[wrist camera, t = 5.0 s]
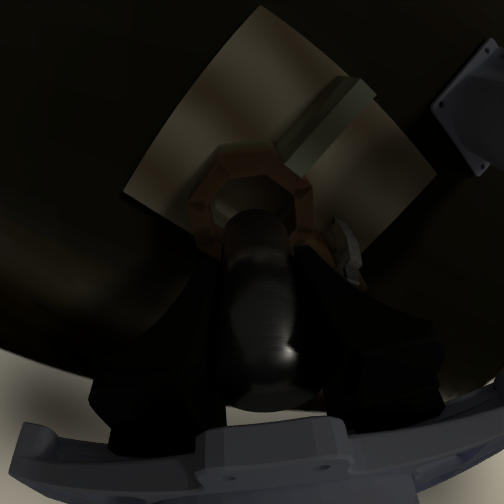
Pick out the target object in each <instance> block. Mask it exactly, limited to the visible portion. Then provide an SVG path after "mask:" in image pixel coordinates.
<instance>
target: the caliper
mask: <svg viewBox="0 0 504 504" xmlns="http://www.w3.org/2000/svg"><path fill="white" fill-rule="evenodd" d="M331 226H332V232H333V238H334V245H335V251H336V252H335V253H334V254H333V257H334V259H335V261H336V263H337V265H338V266H337V268H336V269H335V271H336V272H337V273H339V274H340V275H341V276H342V277H343V278H345V279H346V280H347V281H348V282H350V283H353V284H355V285H360V283H359V279H358V274H357V270H358V269H359V268H360V267H361V266H362V265H363V264H362V259H361V254H360V250H359V245H358V241H357V239H356V238H355V236H354V235H353V233H352V231H351V230H350V228H349V226H348V225H347V224H346V222H344V221H342V220H340V219H338V218H336V217H334V218H333V219H332V221H331Z"/></svg>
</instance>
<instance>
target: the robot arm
mask: <svg viewBox="0 0 504 504" xmlns="http://www.w3.org/2000/svg"><path fill="white" fill-rule="evenodd" d="M485 48H486V52H485ZM440 102H441V103H442V105H441V107H440V106H439V103H440ZM430 110H431V112H432V114H433V115H434V116H435V118H436V119H437V120H438V122H439V123H440V124H441V126H442V127H443V128H444V130H445V131H446V132H447V134H448V135H449V137H450V138H451V140H452V141H453V142H454V144H455V145H456V147H457V148H458V150H459V151H460V153H461V154H462V156H463V157H464V159H465V160H466V162H467V163H468V165H469V167H470V168H471V170H472V171H473V173H474V174H475V175H476V176H480V175H481V174H482V173H483V172H484V171H485V170H486V168H487V167H488V166H489V165H490V164H492V165H494V166H495V167H497V168H499V169H500V170H502V171H503V172H504V48H502V47H498V45H497V44H496V42H495V41H494V39H492V38H488V39H486V41H485V42H484V43H483V44H482V45H481V47H480V48H479V49H478V50H477V51H476V53H475V54H474V55H473V56H472V57H471V59H470V60H469V61H468V62H467V63H466V64H465V66H464V67H463V68H462V69H461V70H460V71H459V73H458V74H457V75H456V76H455V77H454V78H453V80H452V81H451V82H450V83H449V84H448V85H447V86H446V88H445V89H444V90H443V91H442V92H441V93H440V95H439V96H438V97H437V98H436V99H435V100H434V101H433V102H432V104H431V106H430ZM481 165H482V167H481ZM294 259H295V263H296V266H297V270H298V273H299V277H300V280H301V284H302V288H303V291H304V295H305V299H306V302H307V306H308V310H309V313H310V317H311V321H312V325H313V328H314V332H315V336H316V340H317V344H318V347H319V351H320V355H321V359H322V363H323V367H324V371H325V383H324V385H323V387H322V389H323V395H324V401H325V407H326V413H327V416H311V417H304V418H297V419H291V420H284V421H276V422H267V423H258V424H248V425H236V426H227V421H226V407H225V402H224V401H223V400H222V399H221V398H220V397H219V395H218V394H217V391H216V387H215V385H216V353H217V326H218V303H219V282H220V266H219V261H218V257H215V258H207V259H202V261H201V262H200V263H199V265H198V267H197V268H196V270H195V272H194V273H193V275H192V277H191V278H190V280H189V281H188V283H187V284H186V286H185V287H184V289H183V290H182V292H181V293H180V295H179V296H178V297H177V299H176V300H175V301H174V302H173V304H172V305H171V306H170V308H169V309H168V310H167V311H166V312H165V314H164V315H163V316H162V317H161V318H160V319H159V320H158V321H157V322H156V323H155V324H154V325H153V326H152V327H151V328H149V329H148V330H147V331H146V332H145V333H144V334H143V335H142V336H141V337H139V338H138V339H137V340H136V341H134V342H133V343H132V344H130V345H129V346H128V347H126V348H125V349H124V350H122V351H121V352H119V353H118V354H116V355H114V356H113V357H111V358H110V359H108V360H106V361H105V362H103V363H101V364H99V366H98V368H97V371H96V374H95V377H94V380H93V384H92V387H91V391H90V394H89V398H88V401H89V404H90V406H91V407H92V409H93V410H94V411H95V413H97V415H98V416H99V417H100V418H101V419H102V420H103V421H104V422H105V423H106V424H107V425H108V426H109V427H110V428H111V432H110V437H109V442H108V444H104V443H96V442H88V441H81V440H74V439H67V438H62V437H58V435H57V434H56V433H55V432H54V431H53V430H51V429H50V428H48V427H46V426H43V425H38V424H33V423H28V422H24V423H23V425H22V429H21V431H20V434H19V438H18V441H17V444H16V447H15V451H14V454H13V457H12V461H11V464H10V468H9V472H8V473H9V475H11V476H12V477H14V478H15V479H17V480H18V481H20V482H22V483H23V484H25V485H27V486H29V487H30V488H32V489H33V490H35V491H37V492H39V493H41V494H43V495H44V496H46V497H48V498H51V499H54V500H58V501H61V502H64V503H68V504H419V501H418V497H417V493H418V492H421V491H423V490H425V489H428V488H430V487H432V486H435V485H437V484H439V483H441V482H443V481H446V480H448V479H450V478H452V477H454V476H456V475H458V474H460V473H462V472H464V471H466V470H468V469H469V468H471V467H473V466H475V465H477V464H479V463H481V462H482V461H484V460H486V459H487V458H490V457H491V456H493V455H495V454H497V453H498V452H500V451H502V450H503V449H504V369H502V370H501V371H500V372H499V373H498V375H497V376H496V378H495V380H494V382H493V383H491V384H489V385H486V386H484V387H482V388H479V389H477V390H475V391H472V392H470V393H467V394H465V395H462V396H460V397H457V398H455V399H452V400H449V401H447V402H443V399H442V397H441V395H440V393H439V390H438V388H439V387H440V382H439V380H438V378H437V374H438V371H439V369H440V367H441V365H442V363H443V361H444V359H445V356H446V353H447V346H446V344H445V342H444V340H443V338H442V336H441V335H440V333H439V331H438V330H437V328H436V327H435V326H434V324H433V323H432V322H431V321H428V320H425V319H421V318H418V317H415V316H412V315H409V314H406V313H404V312H401V311H399V310H396V309H394V308H392V307H390V306H388V305H385V304H384V303H382V302H380V301H378V300H376V299H374V298H372V297H371V296H369V295H367V294H366V293H364V292H363V291H361V290H359V289H358V288H356V287H355V286H354V285H352V284H351V283H350V282H348V281H347V280H346V279H345V278H343V277H342V276H341V275H340V274H339V273H337V272H336V271H335V270H334V269H333V268H332V267H331V266H330V265H329V264H328V263H327V262H326V261H325V260H324V259H323V258H322V257H321V256H320V255H319V254H318V253H317V252H316V251H315V250H314V249H313V248H312V247H311V246H310V245H302V246H295V247H294Z"/></svg>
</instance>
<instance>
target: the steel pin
mask: <svg viewBox="0 0 504 504" xmlns="http://www.w3.org/2000/svg"><path fill="white" fill-rule="evenodd" d="M324 383H325V371H324V367H323V363H322V359H321V355H320V351H319V347H318V344H317V340H316V336H315V332H314V328H313V325H312V321H311V317H310V313H309V310H308V306H307V302H306V299H305V295H304V291H303V288H302V284H301V280H300V277H299V273H298V270H297V266H296V263H295V259H294V256H293V252H292V249H291V245H290V242H289V238H288V235H287V232H286V228H285V226H284V224H283V222H282V221H281V220H280V218H278V217H277V216H276V215H275V214H273V213H271V212H269V211H266V210H262V209H249V210H245V211H242V212H239V213H238V214H236V215H234V216H233V217H232V218H231V219H230V220H229V221H228V222H227V223H226V225H225V227H224V229H223V233H222V246H221V263H220V282H219V303H218V326H217V353H216V385H215V387H216V391H217V394H218V395H219V397H220V398H221V399H222V400H223V401H224V402H226V403H227V404H229V405H231V406H233V407H235V408H238V409H241V410H245V411H250V412H277V411H283V410H287V409H291V408H294V407H296V406H299V405H301V404H303V403H305V402H307V401H309V400H310V399H312V398H313V397H314V396H315V395H316V394H317V393H318V392H319V391H320V390H321V389H322V387H323V385H324Z"/></svg>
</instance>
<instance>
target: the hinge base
mask: <svg viewBox="0 0 504 504" xmlns="http://www.w3.org/2000/svg"><path fill="white" fill-rule="evenodd" d="M375 96H376V94H375V93H374V91H373V90H372V89H371V88H370V87H369V86H368V85H367V84H366V83H365V82H364V81H363V80H361V79H359V78H353V77H349V76H348V75H347V74H346V73H345V72H344V71H343V70H342V69H341V68H340V67H339V66H337V65H336V64H335V63H334V62H333V61H332V60H331V59H330V58H328V57H327V56H326V55H325V54H324V53H323V52H321V51H320V50H319V49H318V48H317V47H315V46H314V45H313V44H312V43H311V42H309V41H308V40H307V39H306V38H304V37H303V36H302V35H301V34H299V33H298V32H297V31H295V30H294V29H293V28H292V27H290V26H289V25H288V24H286V23H285V22H284V21H282V20H281V19H280V18H278V17H277V16H275V15H274V14H273V13H271V12H270V11H268V10H267V9H265V8H264V7H263V6H261V5H260V6H259V7H258V8H257V9H256V10H255V11H254V12H253V13H252V14H251V15H250V17H249V18H248V19H247V20H246V21H245V22H244V23H243V24H242V25H241V27H240V28H239V29H238V30H237V31H236V32H235V33H234V35H233V36H232V37H231V38H230V39H229V40H228V42H227V43H226V44H225V45H224V46H223V47H222V49H221V50H220V51H219V52H218V54H217V55H216V56H215V57H214V58H213V60H212V61H211V62H210V63H209V65H208V66H207V67H206V69H205V70H204V71H203V72H202V74H201V75H200V76H199V78H198V79H197V80H196V81H195V83H194V84H193V85H192V87H191V88H190V89H189V91H188V92H187V94H186V95H185V96H184V98H183V99H182V100H181V102H180V103H179V105H178V106H177V107H176V109H175V110H174V112H173V113H172V115H171V116H170V117H169V119H168V120H167V122H166V123H165V125H164V126H163V128H162V129H161V131H160V132H159V134H158V135H157V137H156V138H155V140H154V141H153V143H152V144H151V146H150V148H149V149H148V151H147V152H146V154H145V156H144V157H143V159H142V160H141V162H140V164H139V165H138V167H137V169H136V170H135V172H134V174H133V175H132V177H131V179H130V180H129V182H128V184H127V185H126V187H125V189H124V191H123V192H125V193H126V194H128V195H130V196H131V197H133V198H134V199H136V200H138V201H139V202H141V203H142V204H144V205H146V206H147V207H149V208H150V209H152V210H154V211H155V212H157V213H158V214H160V215H162V216H163V217H165V218H166V219H168V220H170V221H171V222H173V223H174V224H176V225H178V226H179V227H181V228H183V229H184V230H186V231H187V232H189V233H191V234H192V235H194V238H195V242H196V246H197V248H198V249H200V250H202V251H203V252H205V253H207V254H208V255H210V256H212V257H213V258H215V257H218V261H220V262H221V246H222V233H223V229H224V227H225V225H226V223H227V222H228V221H229V220H230V219H231V218H232V217H233V216H234V215H236V214H238V213H239V212H242V211H245V210H249V209H262V210H266V211H269V212H271V213H273V214H275V215H276V216H277V217H278V218H280V220H281V221H282V222H283V224H284V226H285V228H286V232H287V235H288V238H289V242H290V245H291V249H292V252H293V256H294V247H295V246H302V245H310V246H311V247H312V248H313V249H314V250H315V251H316V252H317V253H318V254H319V255H320V256H321V257H322V258H323V259H324V260H325V261H326V262H327V263H328V264H329V265H330V266H331V267H332V268H333V269H334V270H335V269H336V268H337V266H338V265H337V263H336V261H335V259H334V257H333V254H334V253H335V252H336V251H335V245H334V238H333V232H332V226H331V221H332V219H333V218H334V217H336V218H338V219H340V220H342V221H344V222H346V224H347V225H348V226H349V228H350V230H351V231H352V233H353V235H354V236H355V238H356V239H357V241H358V245H359V250H360V254H361V253H362V252H363V251H364V250H365V249H366V248H367V247H368V246H369V245H370V244H371V243H372V242H373V241H374V240H375V239H376V238H377V237H378V236H379V235H380V234H381V233H382V232H383V231H384V230H385V229H386V228H387V227H388V226H389V225H390V224H391V223H392V222H393V221H394V220H395V219H396V218H397V217H398V215H399V214H400V213H401V212H402V211H403V210H404V209H405V208H406V207H407V206H408V205H409V204H410V203H411V202H412V201H413V200H414V199H415V198H416V197H417V195H418V194H419V193H420V192H421V191H422V190H423V189H424V188H425V187H426V186H427V185H428V184H429V182H430V181H431V180H432V179H433V178H434V177H435V176H436V175H437V173H436V172H435V170H434V169H433V168H432V167H431V165H430V164H429V163H428V161H427V160H426V159H425V158H424V156H423V155H422V154H421V153H420V152H419V150H418V149H417V148H416V147H415V145H414V144H413V143H412V142H411V141H410V140H409V138H408V137H407V136H406V135H405V134H404V133H403V131H402V130H401V129H400V128H399V127H398V126H397V125H396V124H395V122H394V121H393V120H392V119H391V118H390V117H389V116H388V115H387V114H386V113H385V112H384V111H383V109H382V108H381V107H380V106H379V105H378V104H377V103H376V102H375V101H374V100H373V98H374V97H375ZM357 274H358V279H359V283H360V285H355V284H353V283H351V284H352V285H354V286H355V287H356V288H358V289H359V290H361V291H363V292H364V291H365V290H366V289H367V286H366V284H365V282H364V280H363V278H362V276H361V274H360V272H359V270H357Z"/></svg>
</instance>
